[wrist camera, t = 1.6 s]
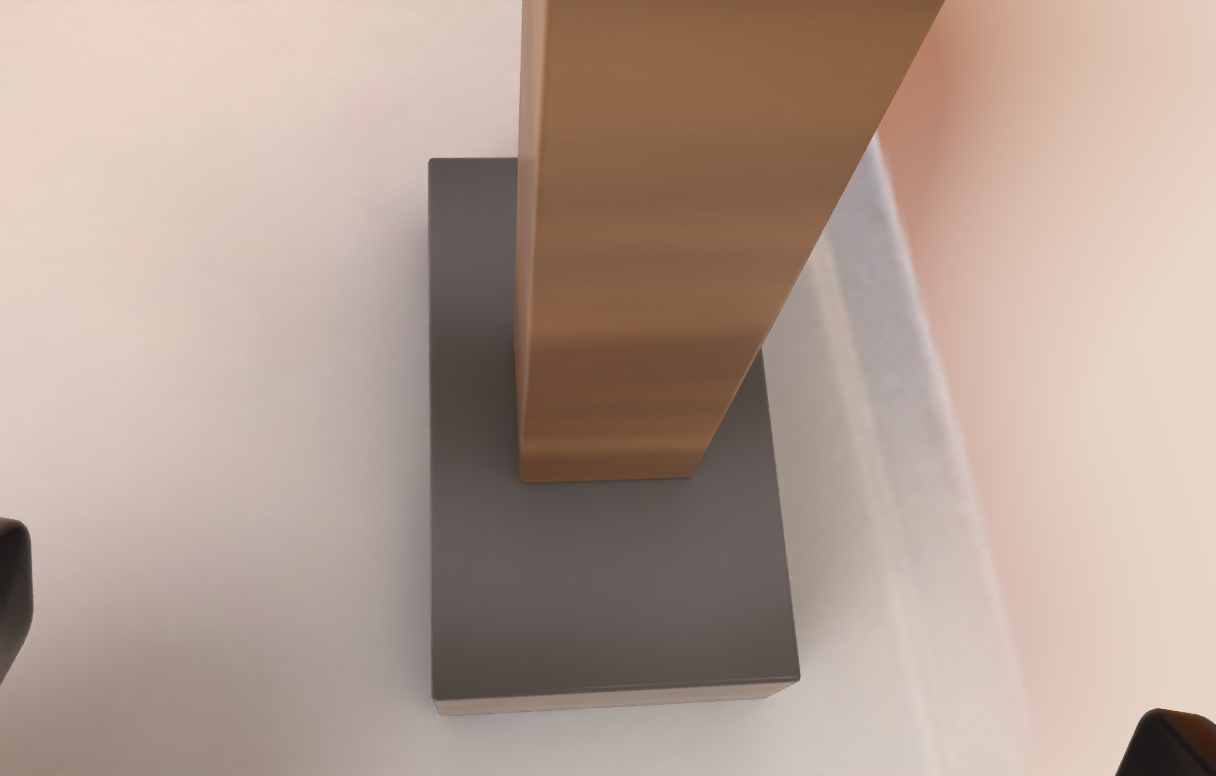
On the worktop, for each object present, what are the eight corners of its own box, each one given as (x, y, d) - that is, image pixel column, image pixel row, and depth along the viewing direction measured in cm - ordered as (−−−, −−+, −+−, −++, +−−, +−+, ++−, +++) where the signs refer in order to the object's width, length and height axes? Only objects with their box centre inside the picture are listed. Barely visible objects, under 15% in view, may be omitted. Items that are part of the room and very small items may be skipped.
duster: (769, 698, 21) (1286, 430, 7) (438, 716, 21) (310, 460, 7) (717, 218, 25) (996, -577, 11) (434, 221, 24) (346, -618, 10)
